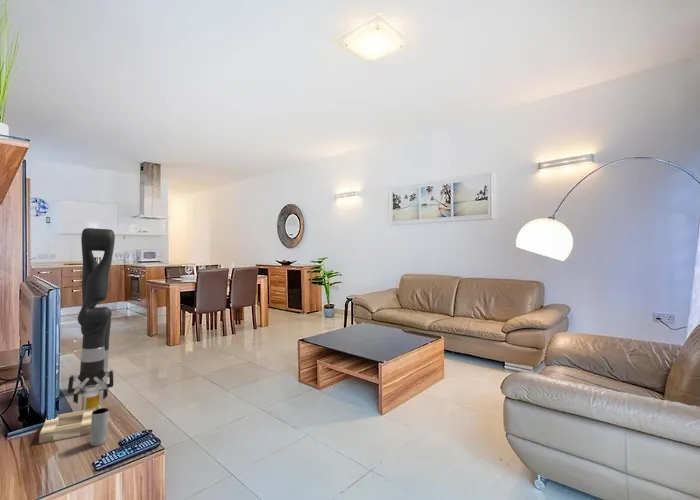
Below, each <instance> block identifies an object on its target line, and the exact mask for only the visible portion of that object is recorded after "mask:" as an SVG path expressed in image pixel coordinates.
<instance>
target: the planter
mask: <svg viewBox="0 0 700 500" xmlns="http://www.w3.org/2000/svg"><path fill="white" fill-rule="evenodd" d="M109 411H110V410H109V408H106V407H101V408H99V409H96V410H94V411H93V412H92V419H91V433H90V442H89V445H91V446H92V447H98V446H102V445H104V444H105V443H107V442H108V434H109V433H108V431H109V429H108V428H109V413H110V412H109Z"/></svg>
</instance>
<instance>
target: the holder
mask: <svg viewBox="0 0 700 500" xmlns="http://www.w3.org/2000/svg"><path fill="white" fill-rule="evenodd" d="M94 410H96V408H95V409H89V410H83V411H82V410H78V411H73V412H68V413H67V412H66V413H60V414H57V415H58V417H56V418H55V419H51V420H47V418H45V421H44V423H43V426H42V427H41V430H40V432H39V437H38V438H39V440H38V443H39V444H44V443H49V442H54V441H59V440H65V439H68V438H74V437H80V436H84V435H89V434H90V435H91V419H92V412H93V411H94Z"/></svg>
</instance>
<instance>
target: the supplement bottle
mask: <svg viewBox="0 0 700 500" xmlns="http://www.w3.org/2000/svg"><path fill="white" fill-rule="evenodd" d="M97 388H98V385H90V386H86V387H85V391H86V392H84V391H83V393H82V395H81V411H83V410H89V409H95V408H96V409H100V408H99V407H100V405H99V404H100V390H99V391H98V390H97Z"/></svg>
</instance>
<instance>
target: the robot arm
mask: <svg viewBox="0 0 700 500" xmlns="http://www.w3.org/2000/svg"><path fill="white" fill-rule="evenodd" d="M80 237H81V241H80V243H81V256H82V275H81V292H82V293H81V296H82V300H81V301H82V305H81V308H80V309H79V312H78V315H77V322H78V324H79V325H80V332H81V334H82V347H81V353H80V365H79V366H80V368H79V370H80V371H79V375H73V374H72V375H70V376H69V377H68V386H67V393H68V394H73V398H72V399H73V401H72V402H73V403H75V404H79V394H80V392H79V391H82V392H83V393H84V392H86V391H85V387H86V386H90V385H98V388H97V390H98V391H99V392H100V391H102V390H103V391H102V400H106V398H107V397H108V391H109V390H108V389H109V388H112V387H114V370H109V356H110V355H109V353H110V335H111V327H112V315H113V313H112V310H111V309H110V308H109V307H106V306H100V307H99V306H97V305H98V304H99V303H101V302H103V301H106V300H107V297H108V292H109V276H110V271H111V266H112V261H113V255H114V249H115V241H116V240H115V237H116V236H115V232H114V230H112V229H110V228H109V229H108V228H93V227H91V228H90V227H85V228H84V229H83V230H82V232H81V236H80ZM93 251H95V252H103V255H102V259H101V260H100V261H99V262H98V261H97V260H96V258H95V256H94V254H93ZM108 370H109V371H108ZM108 379H109V383H108ZM77 380H78V381H79V384H78V385H77V386H76V387H75V388H74V387H73V386H74V383H75V382H76V381H77Z"/></svg>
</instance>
